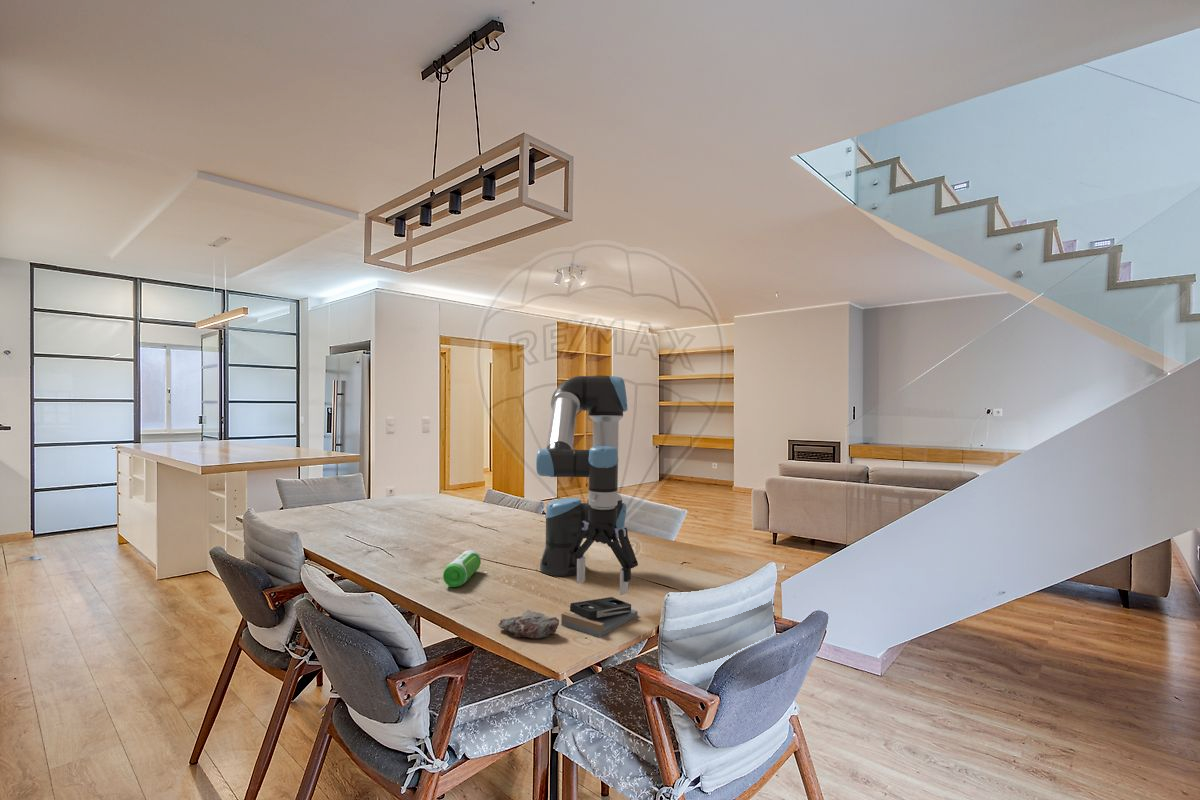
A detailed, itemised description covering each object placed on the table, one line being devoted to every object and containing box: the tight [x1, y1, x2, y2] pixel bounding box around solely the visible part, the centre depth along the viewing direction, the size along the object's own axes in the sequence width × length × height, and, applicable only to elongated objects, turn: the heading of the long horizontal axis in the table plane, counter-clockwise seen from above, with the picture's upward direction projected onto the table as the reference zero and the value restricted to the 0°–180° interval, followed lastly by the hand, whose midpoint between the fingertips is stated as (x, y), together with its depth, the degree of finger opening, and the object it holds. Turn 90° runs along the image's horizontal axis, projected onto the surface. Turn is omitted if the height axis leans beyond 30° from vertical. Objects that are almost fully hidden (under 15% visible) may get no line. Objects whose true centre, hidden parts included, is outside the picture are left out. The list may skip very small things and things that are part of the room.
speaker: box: [442, 549, 482, 588], centre depth 177 cm, size 18×7×8 cm, turn 175°
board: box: [560, 608, 638, 638], centre depth 146 cm, size 12×19×3 cm, turn 145°
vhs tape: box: [569, 596, 632, 620], centre depth 146 cm, size 14×8×2 cm, turn 130°
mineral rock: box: [497, 610, 560, 640], centre depth 136 cm, size 15×8×4 cm, turn 59°
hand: (601, 587), depth 146 cm, fingers open, 13 cm apart
